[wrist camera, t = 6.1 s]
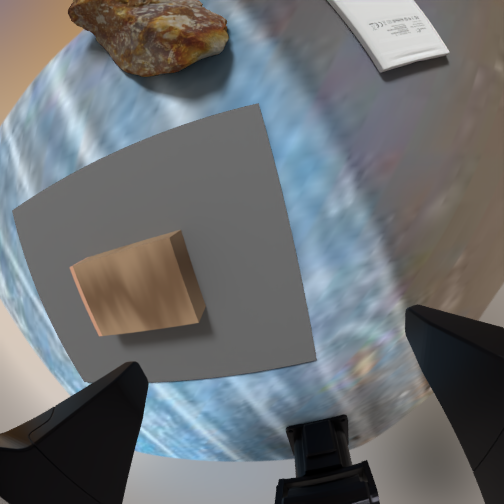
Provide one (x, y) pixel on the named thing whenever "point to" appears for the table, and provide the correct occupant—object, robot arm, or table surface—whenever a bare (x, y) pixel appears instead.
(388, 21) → the external hard drive
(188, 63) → the decorative stone
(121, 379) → the robot arm
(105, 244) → the rubber mat
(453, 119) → the table surface
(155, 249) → the walnut slab
